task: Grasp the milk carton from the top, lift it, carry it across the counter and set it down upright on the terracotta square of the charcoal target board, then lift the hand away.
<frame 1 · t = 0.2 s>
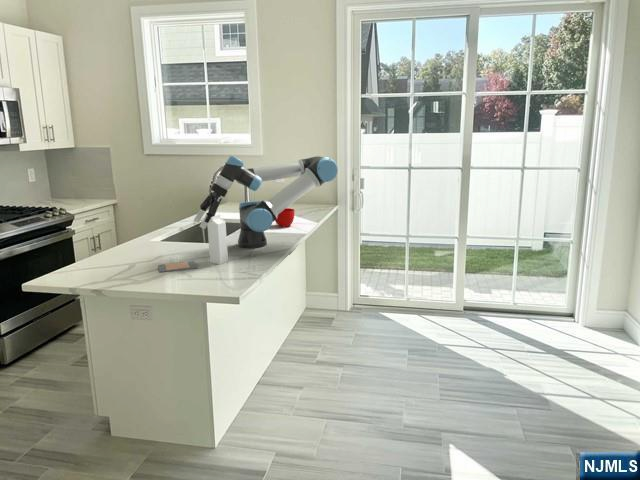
hand: (198, 224, 241), 16 cm above the worktop, tool tilted 35°, fingers open, 13 cm apart
ceramic cup: (284, 225, 313), on the worktop
milk: (219, 262, 236), on the worktop
target board: (177, 267, 228), on the worktop
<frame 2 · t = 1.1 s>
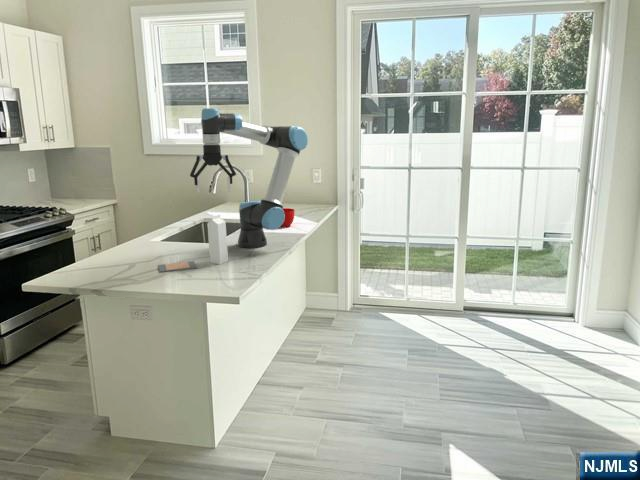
hand: (214, 192, 229), 33 cm above the worktop, tool pointing down, fingers open, 13 cm apart
nothing on the worktop moved.
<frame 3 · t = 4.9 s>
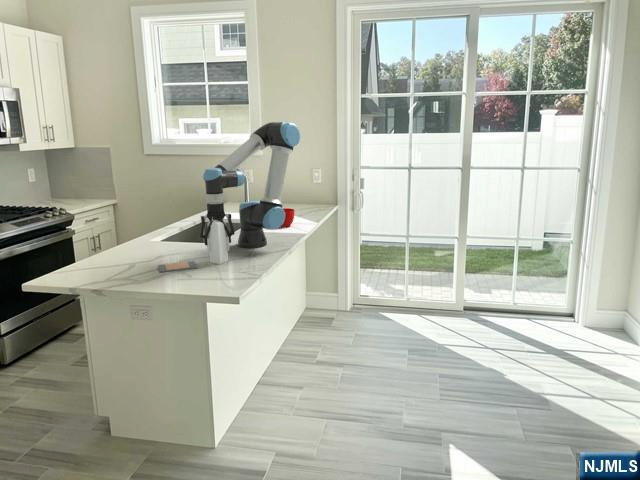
hand: (218, 250, 234), 5 cm above the worktop, tool pointing down, fingers closed on milk, 8 cm apart
milk: (219, 262, 236), on the worktop, touching gripper
everything else where it was.
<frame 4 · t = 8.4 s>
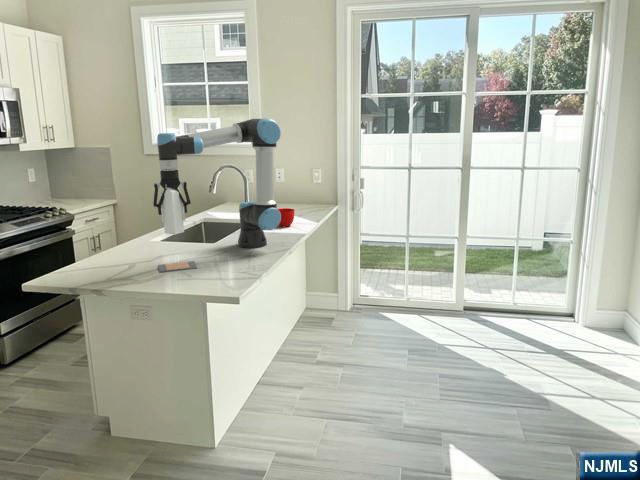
hand: (173, 221, 223), 21 cm above the worktop, tool pointing down, fingers closed on milk, 8 cm apart
milk: (174, 233, 224), point 16 cm above the worktop, touching gripper
everything else where it was.
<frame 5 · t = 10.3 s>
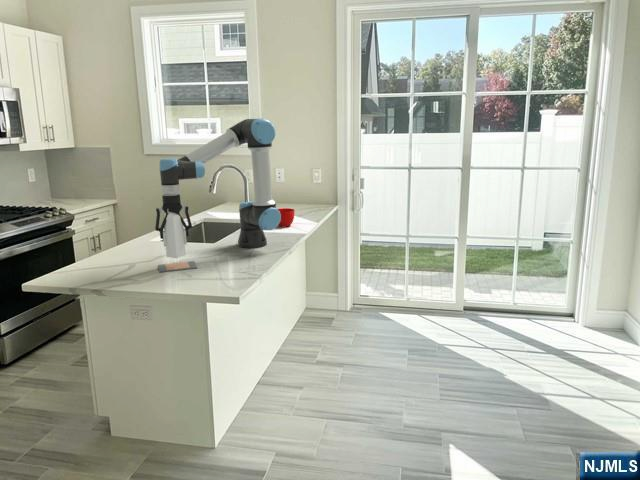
hand: (175, 244, 226), 11 cm above the worktop, tool pointing down, fingers closed on milk, 8 cm apart
milk: (176, 256, 227), point 5 cm above the worktop, touching gripper
everything else where it was.
when the fingers open (7 cm above the worktop, at t = 11.9 s): milk drops 1 cm, resting on target board.
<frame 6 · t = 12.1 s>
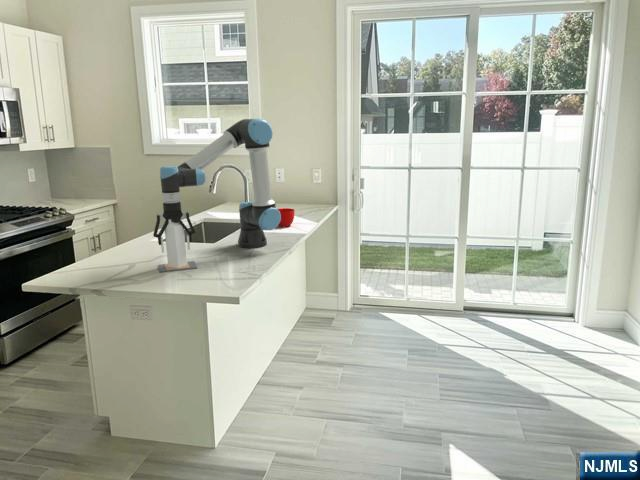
hand: (175, 250, 226), 8 cm above the worktop, tool pointing down, fingers open, 10 cm apart
milk: (177, 266, 228), resting on target board
everything else where it was.
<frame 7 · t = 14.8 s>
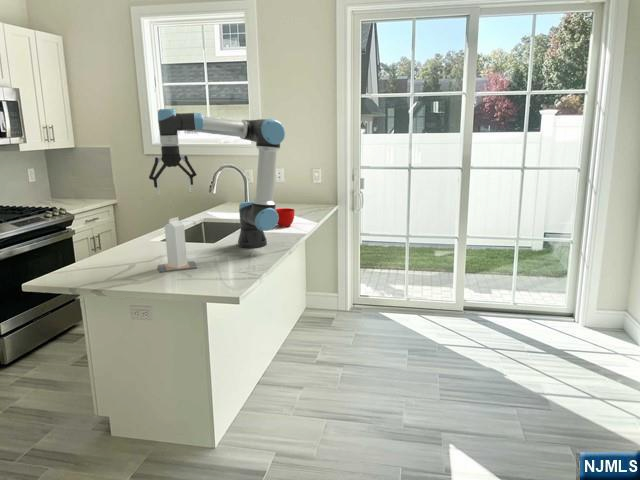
hand: (174, 193, 225), 33 cm above the worktop, tool pointing down, fingers open, 13 cm apart
nothing on the worktop moved.
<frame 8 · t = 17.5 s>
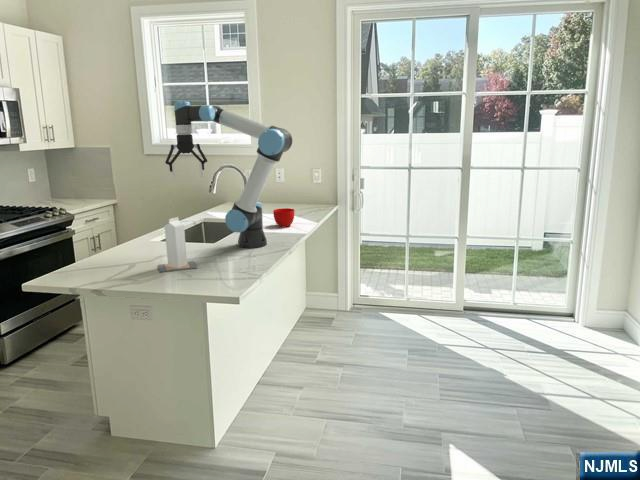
hand: (187, 177, 252), 37 cm above the worktop, tool pointing down, fingers open, 13 cm apart
nothing on the worktop moved.
at the end: milk inside the target area (0.2 cm from its centre), point 0.5 cm above the worktop; milk tilted 0°; the gripper is holding nothing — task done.
